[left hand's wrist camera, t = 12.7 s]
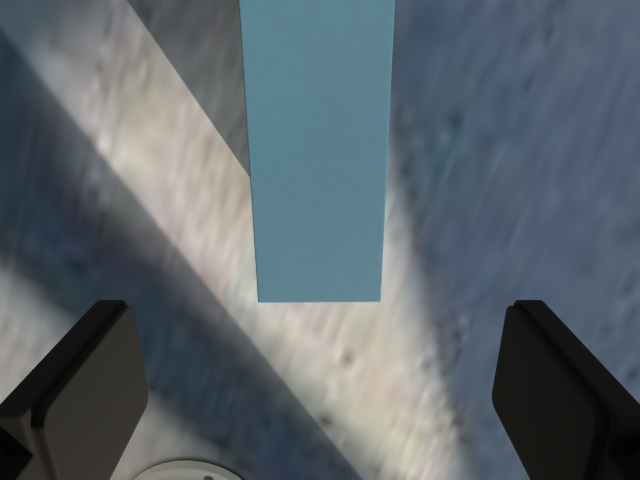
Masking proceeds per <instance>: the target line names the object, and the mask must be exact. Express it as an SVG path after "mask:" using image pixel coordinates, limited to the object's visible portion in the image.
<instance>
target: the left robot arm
mask: <svg viewBox="0 0 640 480" xmlns="http://www.w3.org/2000/svg"><path fill="white" fill-rule="evenodd" d="M147 401H148V391H147V385H146V379H145V373H144V367H143V362H142V356H141V350H140V344H139V338H138V332H137V327H136V321H135V315H134V310H133V308H132V307H131V306H127V305H126V303H125V301H123V300H98V301H97V302H96V303H95V304H94V305H93V306H92V307H91V308H90V309H89V310H88V311H87V312H86V314H85V315H84V316H83V317H82V318H81V319H80V320H79V321H78V322H77V323H76V324H75V325H74V326H73V327H72V328H71V330H70V331H69V332H68V333H67V334H66V335H65V336H64V337H63V338H62V339H61V340H60V341H59V342H58V343H57V344H56V346H55V347H54V348H53V349H52V350H51V351H50V352H49V353H48V354H47V355H46V356H45V357H44V358H43V359H42V360H41V362H40V363H39V364H38V365H37V366H36V367H35V368H34V369H33V370H32V371H31V372H30V373H29V374H28V375H27V376H26V378H25V379H24V380H23V381H22V382H21V383H20V384H19V385H18V386H17V387H16V388H15V389H14V390H13V391H12V392H11V394H10V395H9V396H8V397H7V398H6V399H5V400H4V401H3V402H2V403H1V404H0V480H110V478H111V476H112V474H113V472H114V470H115V468H116V466H117V464H118V462H119V460H120V458H121V456H122V454H123V452H124V450H125V448H126V446H127V444H128V442H129V440H130V438H131V436H132V434H133V432H134V430H135V428H136V426H137V424H138V422H139V420H140V418H141V416H142V414H143V412H144V410H145V408H146V406H147ZM492 401H493V406H494V408H495V410H496V412H497V414H498V416H499V418H500V420H501V422H502V424H503V426H504V428H505V430H506V432H507V434H508V436H509V438H510V440H511V442H512V444H513V446H514V448H515V450H516V452H517V454H518V456H519V458H520V460H521V462H522V464H523V466H524V468H525V470H526V472H527V474H528V476H529V478H530V480H640V404H639V403H638V402H637V401H636V400H635V399H634V398H633V397H632V396H631V395H630V394H629V392H628V391H627V390H626V389H625V388H624V387H623V386H622V385H621V384H620V383H619V382H618V381H617V380H616V379H615V378H614V376H613V375H612V374H611V373H610V372H609V371H608V370H607V369H606V368H605V367H604V366H603V365H602V364H601V363H600V362H599V360H598V359H597V358H596V357H595V356H594V355H593V354H592V353H591V352H590V351H589V350H588V349H587V348H586V347H585V346H584V344H583V343H582V342H581V341H580V340H579V339H578V338H577V337H576V336H575V335H574V334H573V333H572V332H571V331H570V330H569V328H568V327H567V326H566V325H565V324H564V323H563V322H562V321H561V320H560V319H559V318H558V317H557V316H556V315H555V314H554V312H553V311H552V310H551V309H550V308H549V307H548V306H547V305H546V304H545V303H544V302H543V301H542V300H517V301H515V303H514V305H513V306H509V307H508V308H507V310H506V315H505V321H504V327H503V332H502V338H501V344H500V350H499V356H498V362H497V367H496V373H495V379H494V385H493V391H492ZM134 480H242V479H241V478H239V477H238V476H236V475H235V474H233V473H232V472H230V471H228V470H226V469H224V468H221V467H219V466H217V465H213V464H209V463H205V462H199V461H191V460H185V461H172V462H166V463H162V464H159V465H156V466H153V467H151V468H149V469H147V470H145V471H144V472H142V473H141V474H139V475H138V476H137V477H136V478H135V479H134Z"/></svg>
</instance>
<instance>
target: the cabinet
mask: <svg viewBox="0 0 640 480" xmlns="http://www.w3.org/2000/svg"><path fill="white" fill-rule="evenodd" d="M394 4H395V0H239V11H240V27H241V42H242V58H243V73H244V89H245V104H246V120H247V135H248V151H249V166H250V182H251V197H252V213H253V228H254V244H255V259H256V275H257V290H258V302H259V303H279V302H380V301H381V281H382V259H383V238H384V217H385V196H386V174H387V153H388V132H389V111H390V89H391V68H392V47H393V25H394Z"/></svg>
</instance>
